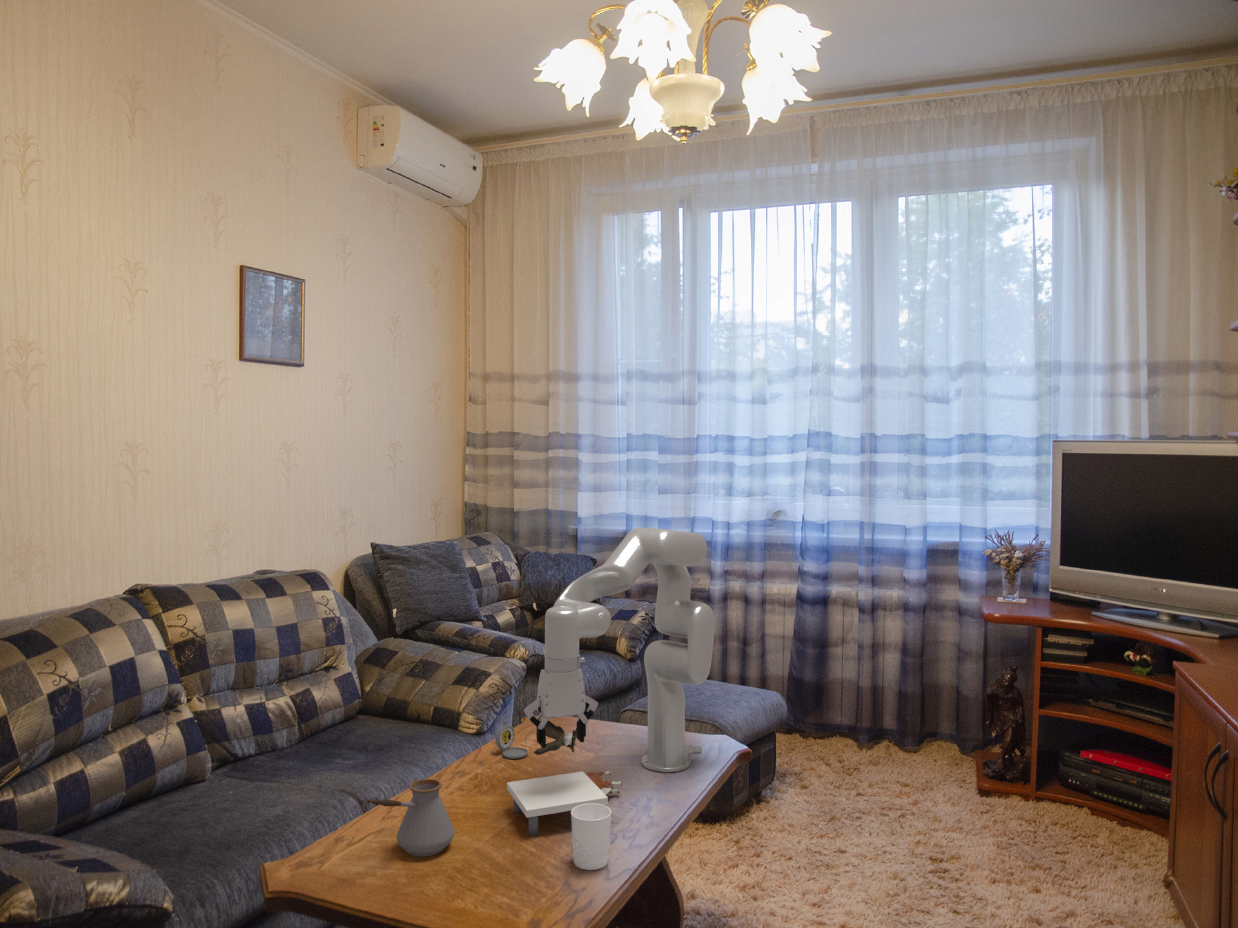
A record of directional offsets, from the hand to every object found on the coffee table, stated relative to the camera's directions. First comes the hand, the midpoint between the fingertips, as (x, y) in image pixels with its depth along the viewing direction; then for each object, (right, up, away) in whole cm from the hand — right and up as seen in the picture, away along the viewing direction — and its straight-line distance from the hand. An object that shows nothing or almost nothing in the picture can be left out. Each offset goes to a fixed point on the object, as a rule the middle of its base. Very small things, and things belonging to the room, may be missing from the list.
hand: (561, 742), depth 188 cm
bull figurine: (+12, -14, +13) cm, 23 cm away
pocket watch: (-15, -16, +38) cm, 44 cm away
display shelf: (-1, -16, 0) cm, 16 cm away
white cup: (+7, -17, -20) cm, 27 cm away
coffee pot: (-29, -17, -19) cm, 38 cm away
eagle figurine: (-1, -2, 0) cm, 2 cm away
